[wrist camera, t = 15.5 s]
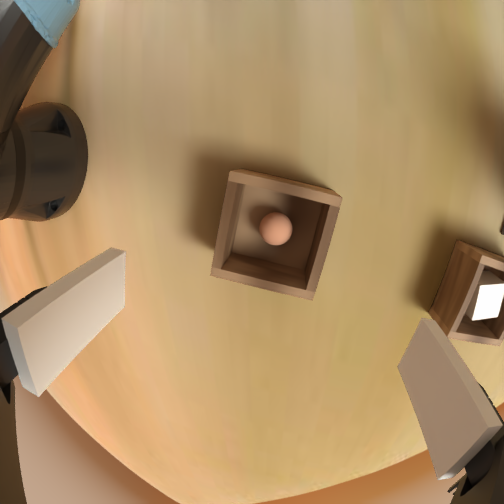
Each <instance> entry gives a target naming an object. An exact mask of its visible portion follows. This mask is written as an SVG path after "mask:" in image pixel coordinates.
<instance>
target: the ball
mask: <svg viewBox="0 0 504 504" xmlns="http://www.w3.org/2000/svg"><path fill="white" fill-rule="evenodd" d="M292 229H293V228H292V223H291V221H290V219H289V218H288V217H287V216H286V215H284V214H282V213H279V212H273V213H270V214H268V215H266V216H265V217H264V218H263V219H262V221H261V223H260V227H259V231H260V235H261V237H262V238H263V240H264V241H265V242H267V243H268V244H271V245H281V244H284V243H285V242H287V241H288V240H289V238H290V237H291V234H292Z"/></svg>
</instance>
